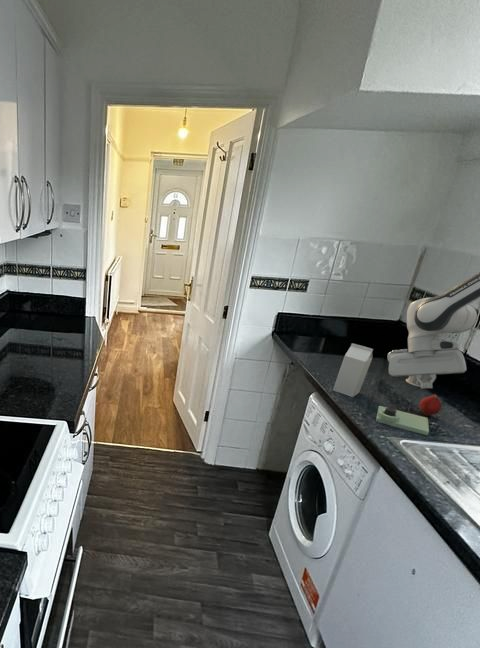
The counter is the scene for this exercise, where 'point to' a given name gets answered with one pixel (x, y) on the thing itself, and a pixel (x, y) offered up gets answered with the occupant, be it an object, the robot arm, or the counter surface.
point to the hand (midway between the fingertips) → (426, 388)
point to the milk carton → (353, 370)
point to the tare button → (390, 412)
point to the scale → (404, 421)
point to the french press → (415, 382)
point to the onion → (430, 405)
